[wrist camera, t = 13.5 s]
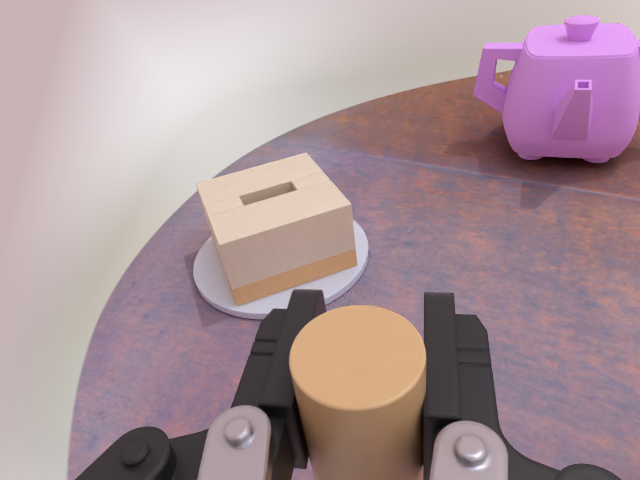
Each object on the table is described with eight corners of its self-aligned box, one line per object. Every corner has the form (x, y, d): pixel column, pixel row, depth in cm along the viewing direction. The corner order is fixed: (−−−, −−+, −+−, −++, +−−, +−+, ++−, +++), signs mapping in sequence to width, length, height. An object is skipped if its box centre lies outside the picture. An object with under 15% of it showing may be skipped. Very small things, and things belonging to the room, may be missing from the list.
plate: (160, 304, 50) (157, 298, 49) (242, 204, 63) (241, 198, 63) (337, 334, 44) (336, 327, 43) (387, 217, 57) (386, 211, 57)
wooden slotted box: (236, 306, 47) (218, 244, 43) (212, 239, 56) (195, 183, 52) (357, 265, 50) (351, 203, 45) (314, 207, 59) (306, 152, 55)
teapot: (558, 102, 76) (574, -10, 67) (681, 143, 62) (722, 9, 53) (454, 142, 70) (457, 25, 61) (566, 197, 56) (591, 56, 47)
